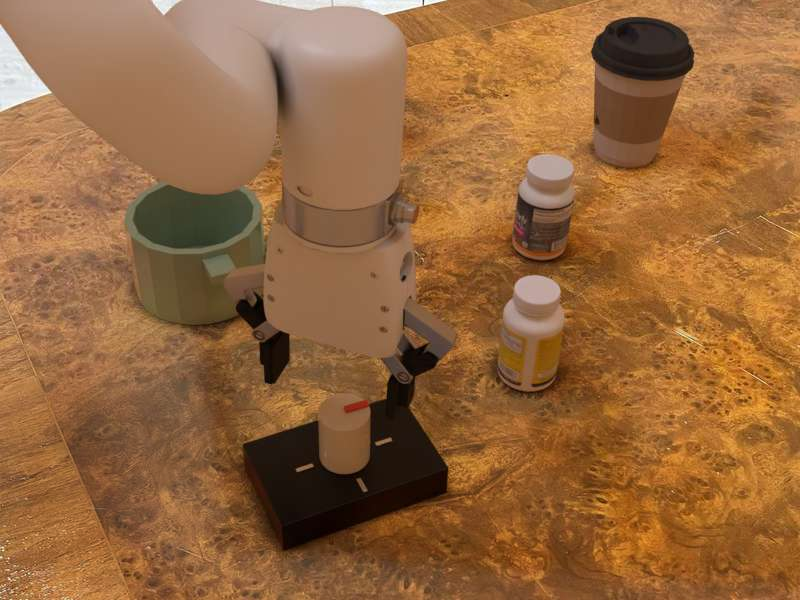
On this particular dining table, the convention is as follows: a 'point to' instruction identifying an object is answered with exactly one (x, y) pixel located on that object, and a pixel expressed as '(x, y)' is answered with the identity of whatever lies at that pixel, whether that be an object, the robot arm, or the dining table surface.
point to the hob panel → (342, 477)
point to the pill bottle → (544, 207)
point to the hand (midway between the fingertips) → (336, 389)
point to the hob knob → (344, 433)
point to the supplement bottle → (531, 334)
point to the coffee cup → (636, 87)
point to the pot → (192, 250)
